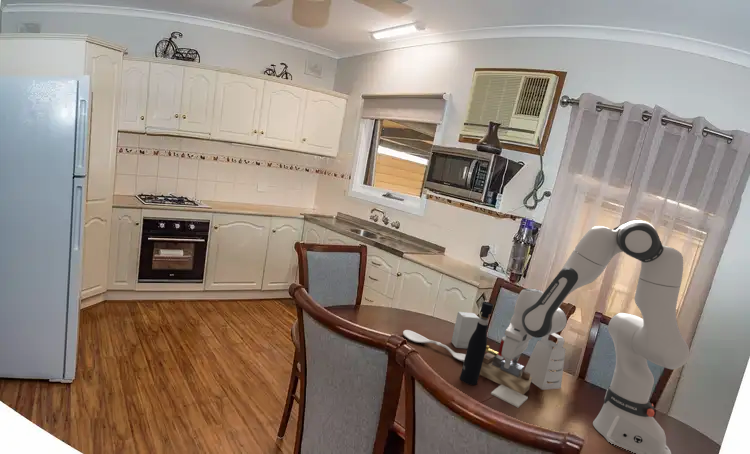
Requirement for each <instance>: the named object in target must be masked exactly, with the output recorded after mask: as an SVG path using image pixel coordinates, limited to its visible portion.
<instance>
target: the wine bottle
mask: <svg viewBox="0 0 750 454" xmlns="http://www.w3.org/2000/svg"><path fill="white" fill-rule="evenodd" d="M493 308H494V304H493V303H491V302H490V301H489V302H488V301H483V302H482V304H481V308H480V312H481V315H480V317H479V318H480V319H479V322H478V323H477V327H476V330H475V331H474V333H473V334H472V336H471V338H470V340H469V344H468V348H467V349H466V353H465V354H466V356H465V360H464V362H463V364H462V368H461V373H460V376H459V379H460V381H462V382H463V383H465V384H467V385H470V386H474V385H475V386H476V385H478V381H479V377H480V370H481V367H482V363H483V359H484V355H485V354H486V347H487V345H488V337H487V335H488V334H487V332H488V329H489V328H488V326H489V316H490V315H491V314H492V313H493V310H494V309H493Z"/></svg>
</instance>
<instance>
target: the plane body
mask: <svg viewBox="0 0 750 454" xmlns="http://www.w3.org/2000/svg"><path fill="white" fill-rule="evenodd" d="M503 360H504V358H503V357H502V356H500V355H497V356H495V355H493V354H490V353H488V352H486V353H485V355H484V359H483V363H482V367H481V370H480V374H479V376H482V377H484V378H487V379H488V380H490V381H492V382H495V383H496V384H498V385H499V386H500V385H501V384H502V385H504V386H506V387H508V388H510V389H513V390H515V391H517V392H519V393H521V394H523V395H525V394H526V393H527V392H528V391H529V390H530V387H531V384H532V382H531V380H532V377H530V375H531V374H530V373H528V372H526V371H524V370H523V372H522V375H520V376H519V377H516V376H514V375H512V374H509V373H507V372H505V371H503V370H501V369H500V367H501V363H502V361H503Z"/></svg>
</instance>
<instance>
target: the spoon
mask: <svg viewBox="0 0 750 454" xmlns="http://www.w3.org/2000/svg"><path fill="white" fill-rule="evenodd" d="M402 334H403V336H404V337H405V338H407V339H408V340H409V341H410V342H411V341H412V342H414V343H418V344H420V343H421V344H435V345H436V346H439V347H442V348H444V349H446V351H448V352H449V353H450V354H451V356H453V358H454V359H456V360H458V361H461V362H463V363H464V360H465V356H466V353H461V352H460V353H459V352H455V351H454V350H453V349H451V347H449V346H448V345H446V344H443V343H441V341H436V340H432V339H428V338H427V337H425V336H423V335H422V334H419V333H418V332H415V331H413V330H410V329H405V330H403V331H402Z"/></svg>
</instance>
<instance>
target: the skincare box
mask: <svg viewBox="0 0 750 454" xmlns="http://www.w3.org/2000/svg"><path fill="white" fill-rule="evenodd" d="M479 319H480V317H479V316H478V315H477V314H476V313H475V312H465V311H464V312H463V311H457V315H456V319H455V323H454V328H453V333H452V337H451V342H450V343H452V345H453V346H454V347H455V348H456V349H466V350H467V348H468V344H469V340H470V338H471V336H472V334H473V333H474V331H475V330H476V327H477V323H478V322H479Z"/></svg>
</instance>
